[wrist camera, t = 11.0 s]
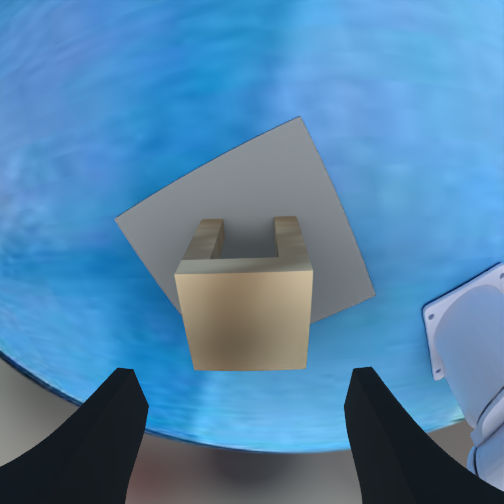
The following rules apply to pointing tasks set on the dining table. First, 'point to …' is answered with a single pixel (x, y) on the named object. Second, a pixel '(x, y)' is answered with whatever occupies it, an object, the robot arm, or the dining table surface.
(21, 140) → the dining table surface
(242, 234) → the slate mat
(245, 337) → the wooden u-frame
